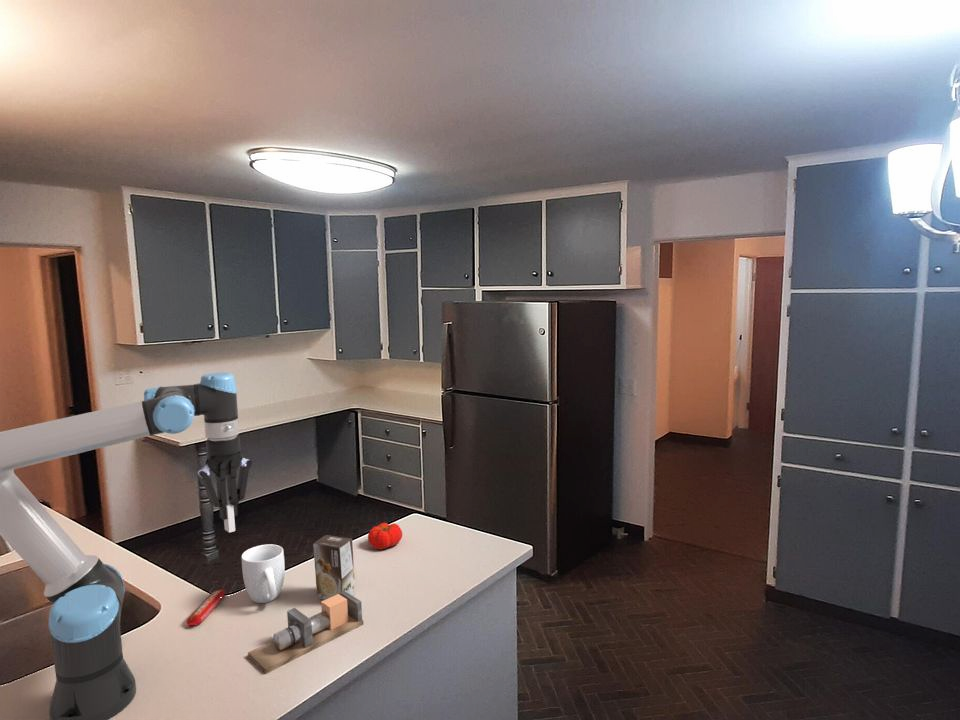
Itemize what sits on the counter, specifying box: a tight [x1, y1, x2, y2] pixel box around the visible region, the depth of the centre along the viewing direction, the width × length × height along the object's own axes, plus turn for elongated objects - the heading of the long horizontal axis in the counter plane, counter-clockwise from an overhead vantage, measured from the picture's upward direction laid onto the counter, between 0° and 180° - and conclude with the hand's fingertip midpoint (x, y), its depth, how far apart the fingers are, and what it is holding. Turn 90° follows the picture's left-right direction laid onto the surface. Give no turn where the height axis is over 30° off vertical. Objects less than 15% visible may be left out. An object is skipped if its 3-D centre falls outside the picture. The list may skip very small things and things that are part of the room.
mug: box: [241, 543, 286, 604], centre depth 161 cm, size 15×11×13 cm
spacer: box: [320, 594, 348, 630], centre depth 148 cm, size 5×4×6 cm
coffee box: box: [312, 534, 356, 601], centre depth 163 cm, size 9×6×16 cm
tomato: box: [367, 522, 403, 550], centre depth 195 cm, size 10×11×6 cm
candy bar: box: [185, 589, 226, 627], centre depth 157 cm, size 16×4×3 cm, turn 178°
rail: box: [247, 591, 364, 674], centre depth 143 cm, size 26×9×7 cm, turn 136°
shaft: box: [272, 611, 330, 651], centre depth 142 cm, size 13×4×4 cm, turn 136°
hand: (230, 530), depth 145 cm, fingers closed
